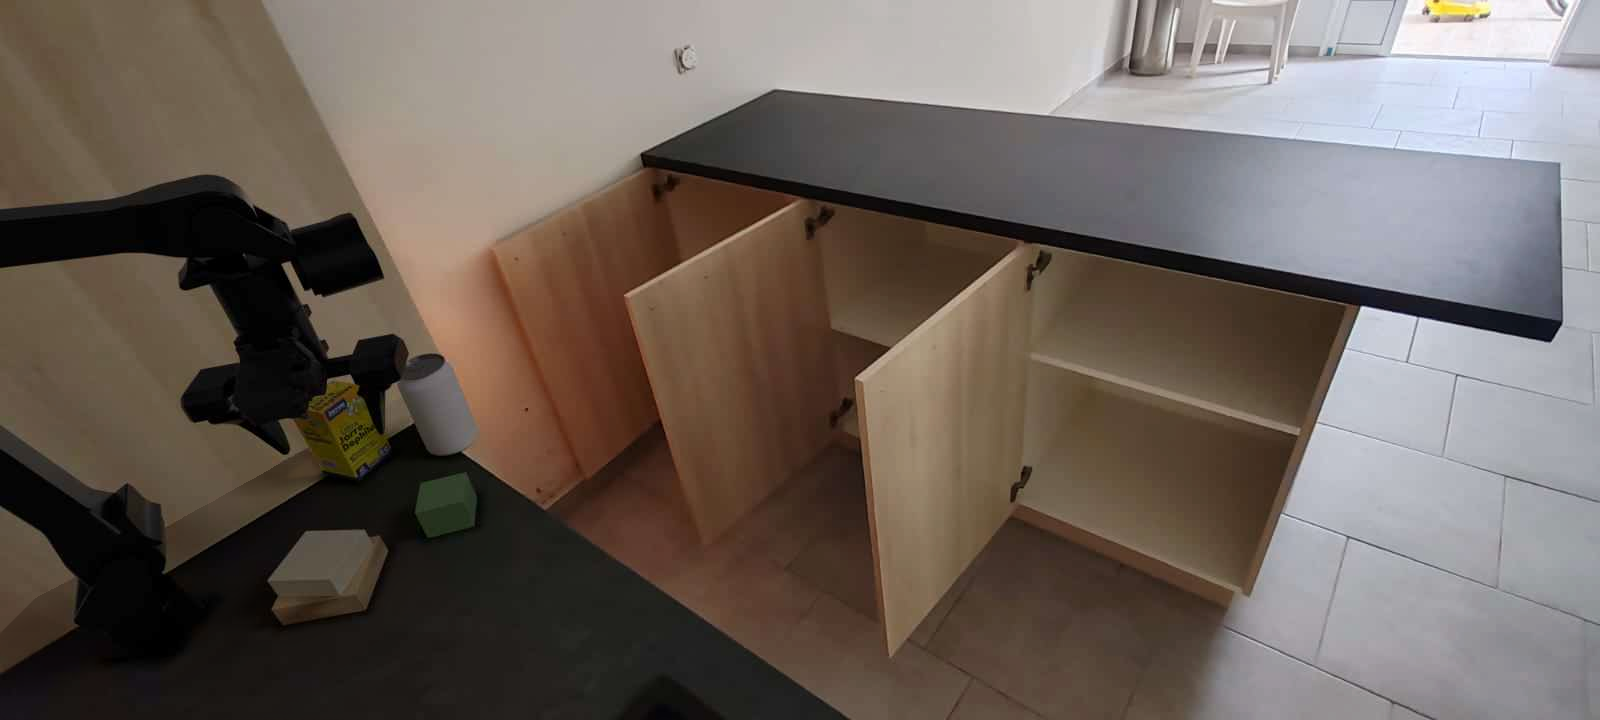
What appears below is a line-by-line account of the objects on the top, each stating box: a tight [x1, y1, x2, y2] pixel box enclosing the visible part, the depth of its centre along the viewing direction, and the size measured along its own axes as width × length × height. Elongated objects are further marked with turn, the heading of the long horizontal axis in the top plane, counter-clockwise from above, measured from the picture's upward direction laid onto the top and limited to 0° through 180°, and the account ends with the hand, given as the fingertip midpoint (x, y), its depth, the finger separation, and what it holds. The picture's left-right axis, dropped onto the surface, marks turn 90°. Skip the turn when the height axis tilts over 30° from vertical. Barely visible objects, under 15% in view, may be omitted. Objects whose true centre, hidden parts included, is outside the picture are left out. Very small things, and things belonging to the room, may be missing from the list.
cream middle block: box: [267, 529, 374, 597], centre depth 76 cm, size 6×6×2 cm
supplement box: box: [292, 379, 394, 482], centre depth 92 cm, size 6×6×11 cm
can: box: [396, 352, 479, 457], centre depth 94 cm, size 6×6×12 cm
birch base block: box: [271, 535, 389, 626], centre depth 77 cm, size 8×8×2 cm
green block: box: [414, 471, 478, 539], centre depth 84 cm, size 5×5×4 cm
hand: (335, 442), depth 78 cm, fingers open, 9 cm apart
